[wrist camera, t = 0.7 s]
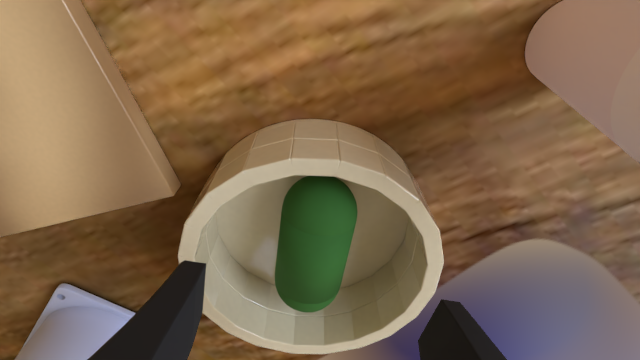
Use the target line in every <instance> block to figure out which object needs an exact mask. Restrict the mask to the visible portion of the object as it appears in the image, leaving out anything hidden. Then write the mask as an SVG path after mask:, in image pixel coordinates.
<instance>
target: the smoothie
mask: <svg viewBox="0 0 640 360" xmlns="http://www.w3.org/2000/svg"><path fill="white" fill-rule="evenodd" d="M525 60H526V64H527V67H528V69H529V71H530V72H531V73H532V74H533V75H534V76H535V77H536V78H537V79H538V80H540V81H541V82H542V83H543V84H544V85H546V86H547V87H548V88H549V89H550V90H552V91H553V92H554V93H555V94H557V95H558V96H559V97H560V98H561V99H563V100H564V101H565V102H566V103H567V104H569V105H570V106H571V107H572V108H573V109H575V110H576V111H577V112H578V113H579V114H581V115H582V116H583V117H584V118H585V119H587V120H588V121H589V122H590V123H592V124H593V125H594V126H595V127H596V128H598V129H599V130H600V131H601V132H602V133H604V134H605V135H606V136H607V137H608V138H610V139H611V140H612V141H613V142H614V143H616V144H617V145H618V146H619V147H620V148H622V149H623V150H624V151H625V152H626V153H627V154H628V155H629V156H631V157H632V158H633V159H635V160H636V161H637V162H638V163H640V0H563V1H561V2H559V3H557V4H556V5H554V6H553V7H551V8H550V9H549V10H547V11H546V12H545V13H544V14H543V15H542V16H541V17H540V18H539V20H538V21H537V22H536V24H535V25H534V27H533V28H532V30H531V32H530V34H529V36H528V39H527V42H526V47H525Z"/></svg>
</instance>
